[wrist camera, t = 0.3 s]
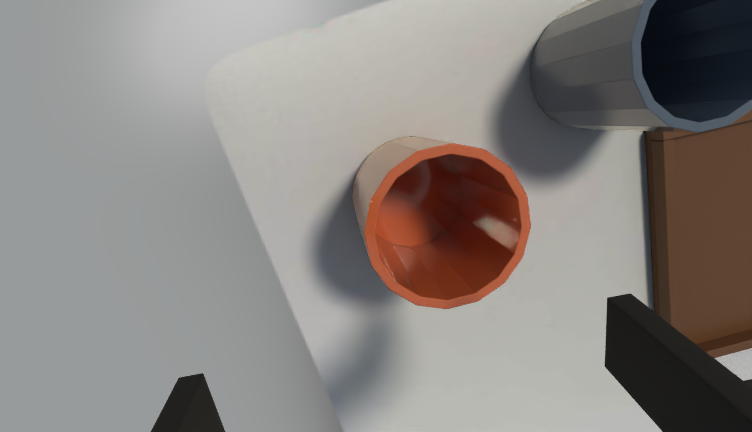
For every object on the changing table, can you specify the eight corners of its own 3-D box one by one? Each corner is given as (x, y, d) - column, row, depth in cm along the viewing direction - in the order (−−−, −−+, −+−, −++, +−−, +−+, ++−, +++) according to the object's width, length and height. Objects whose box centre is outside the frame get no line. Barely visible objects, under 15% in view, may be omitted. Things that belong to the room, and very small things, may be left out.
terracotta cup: (341, 150, 29) (348, 166, 19) (455, 125, 29) (519, 127, 20) (366, 260, 31) (384, 325, 21) (472, 235, 31) (538, 286, 22)
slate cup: (523, 18, 28) (626, -36, 18) (636, -6, 29) (794, -70, 19) (537, 138, 30) (637, 147, 20) (642, 114, 31) (789, 111, 21)
